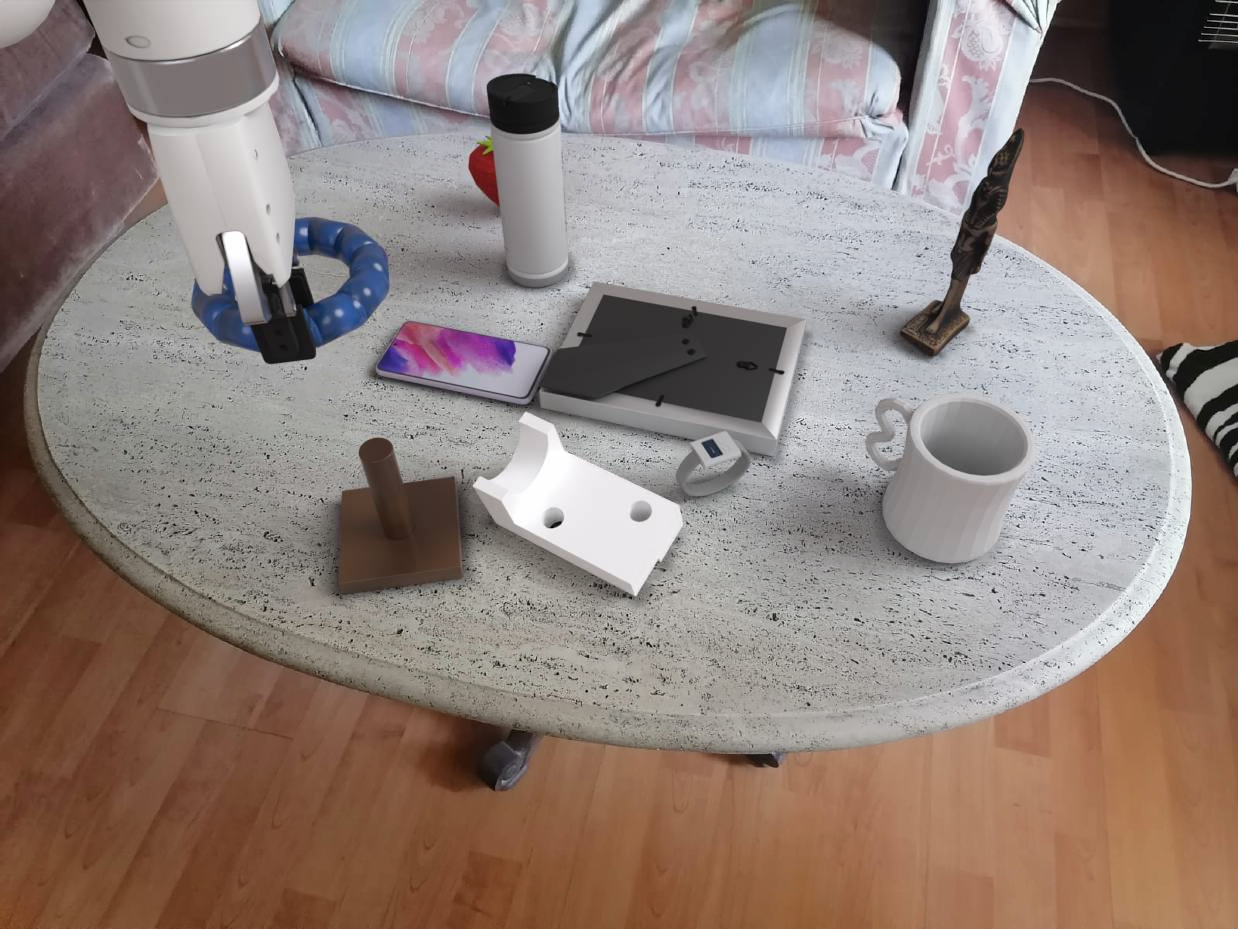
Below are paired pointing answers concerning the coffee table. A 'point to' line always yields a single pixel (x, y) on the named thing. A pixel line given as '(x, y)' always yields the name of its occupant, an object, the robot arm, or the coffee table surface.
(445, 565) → the peg stand
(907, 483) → the mug
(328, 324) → the blue spotted ring
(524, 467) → the bracket
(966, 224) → the statue
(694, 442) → the wristwatch
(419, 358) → the smartphone
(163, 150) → the robot arm
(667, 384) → the picture frame
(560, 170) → the travel mug
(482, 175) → the strawberry
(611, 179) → the coffee table surface
